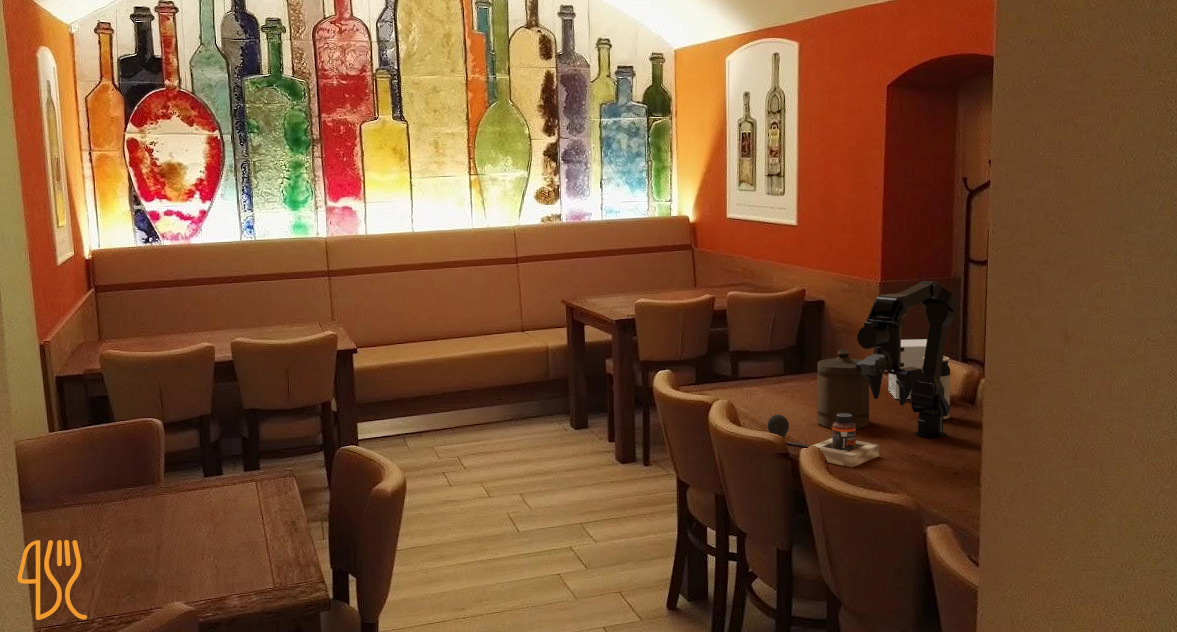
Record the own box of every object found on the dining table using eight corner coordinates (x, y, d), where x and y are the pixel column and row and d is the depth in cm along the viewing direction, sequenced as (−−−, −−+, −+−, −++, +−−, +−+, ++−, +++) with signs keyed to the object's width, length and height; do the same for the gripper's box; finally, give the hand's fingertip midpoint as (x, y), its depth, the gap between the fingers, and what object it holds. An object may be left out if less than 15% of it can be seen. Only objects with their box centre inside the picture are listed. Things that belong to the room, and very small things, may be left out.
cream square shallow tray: (835, 447, 275) (835, 436, 275) (878, 456, 266) (879, 444, 266) (807, 458, 266) (807, 447, 266) (851, 467, 257) (851, 455, 257)
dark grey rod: (824, 450, 273) (824, 447, 273) (823, 451, 272) (823, 448, 272) (783, 443, 281) (783, 440, 281) (782, 444, 280) (782, 441, 280)
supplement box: (929, 391, 337) (929, 338, 335) (938, 400, 324) (939, 345, 322) (887, 391, 339) (888, 339, 336) (895, 400, 326) (895, 346, 323)
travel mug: (951, 420, 299) (952, 360, 296) (922, 420, 300) (923, 360, 298) (947, 414, 306) (948, 355, 304) (919, 414, 308) (920, 355, 305)
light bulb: (765, 449, 276) (765, 413, 275) (785, 448, 277) (785, 411, 275) (770, 454, 271) (770, 418, 269) (791, 453, 271) (791, 416, 270)
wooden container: (851, 415, 310) (851, 343, 306) (879, 426, 296) (879, 351, 292) (807, 420, 305) (807, 347, 302) (834, 432, 291) (834, 356, 288)
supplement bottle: (849, 461, 262) (849, 418, 261) (828, 458, 266) (828, 415, 264) (859, 456, 267) (859, 413, 265) (838, 452, 271) (838, 410, 269)
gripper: (841, 342, 271) (840, 399, 274) (893, 352, 255) (892, 413, 257) (872, 337, 277) (871, 394, 279) (925, 347, 261) (924, 407, 263)
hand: (888, 402), depth 269 cm, fingers open, 9 cm apart
